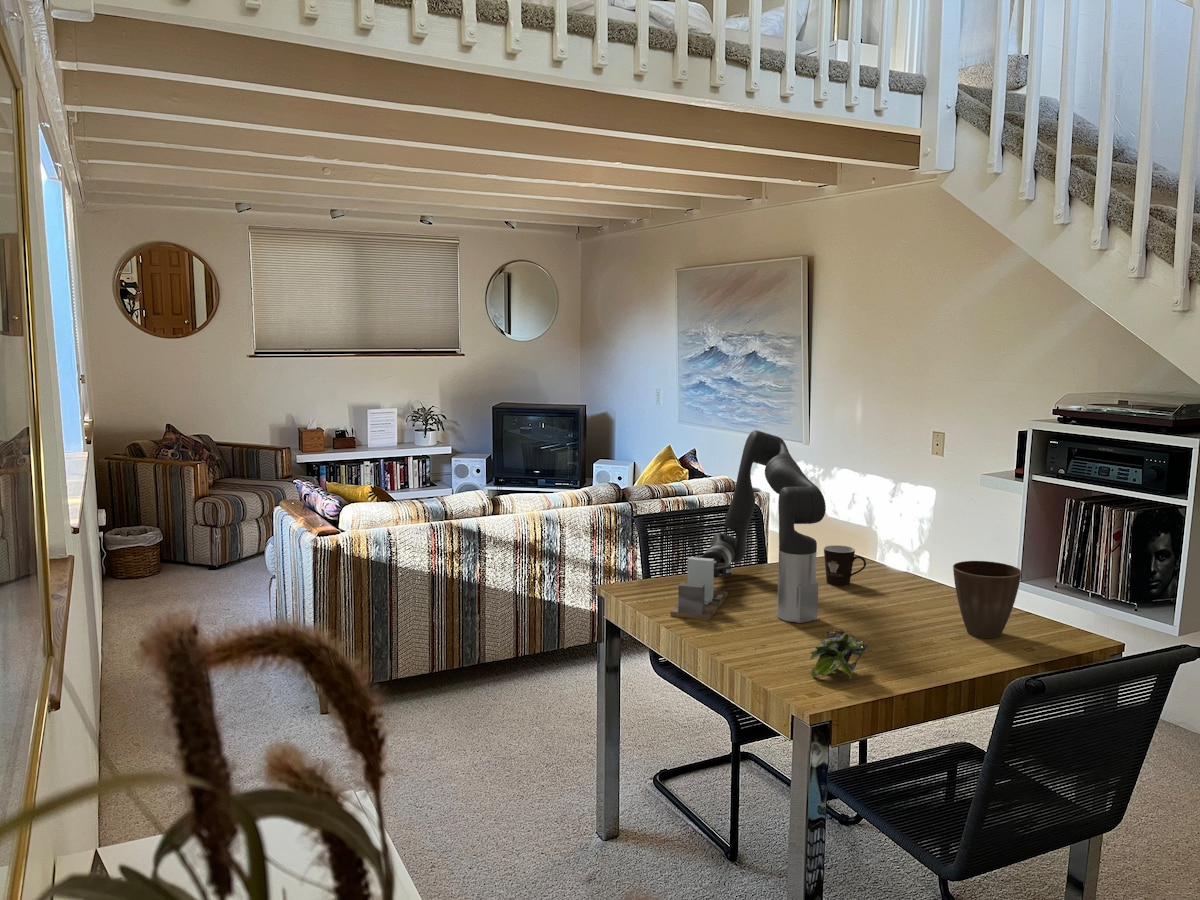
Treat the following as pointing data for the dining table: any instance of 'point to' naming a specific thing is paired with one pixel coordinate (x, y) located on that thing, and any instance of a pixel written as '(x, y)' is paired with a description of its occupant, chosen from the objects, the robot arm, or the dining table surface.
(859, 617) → the dining table surface
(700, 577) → the panel
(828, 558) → the coffee mug
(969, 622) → the plant pot
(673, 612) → the board
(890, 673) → the dining table surface
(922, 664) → the dining table surface
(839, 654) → the passion flower
